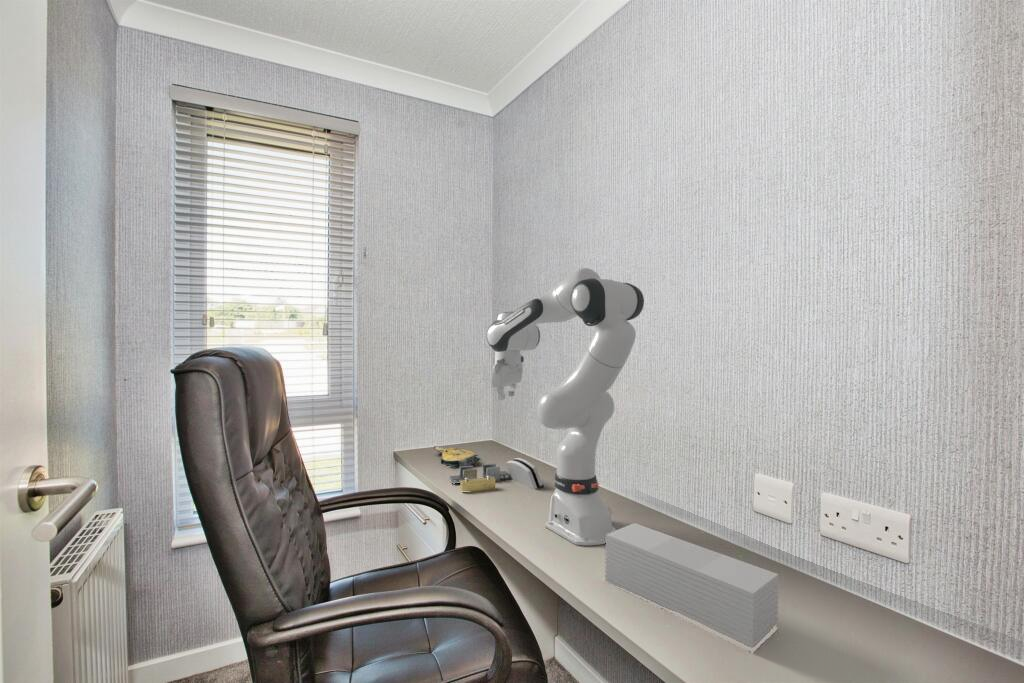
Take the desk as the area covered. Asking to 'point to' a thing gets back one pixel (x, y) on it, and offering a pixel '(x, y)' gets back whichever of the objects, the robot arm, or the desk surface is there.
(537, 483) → the grey half-round block
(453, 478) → the chain end
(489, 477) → the brass block with peg
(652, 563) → the stack of papers
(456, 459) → the pulley block
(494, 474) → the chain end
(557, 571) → the desk surface
